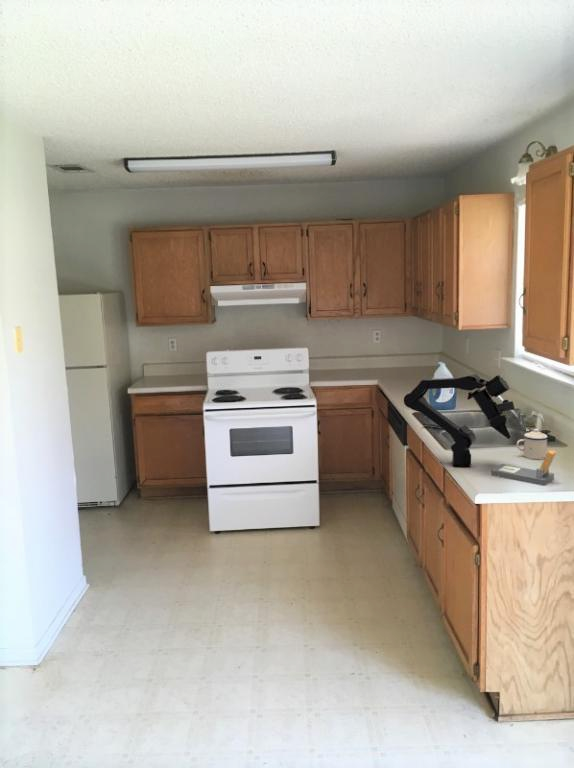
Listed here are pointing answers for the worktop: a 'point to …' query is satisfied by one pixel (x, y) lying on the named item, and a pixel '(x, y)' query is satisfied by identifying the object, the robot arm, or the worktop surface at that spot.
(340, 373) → the worktop surface
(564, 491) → the worktop surface
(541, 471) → the switch panel
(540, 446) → the teacup with lid
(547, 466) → the orange lever
